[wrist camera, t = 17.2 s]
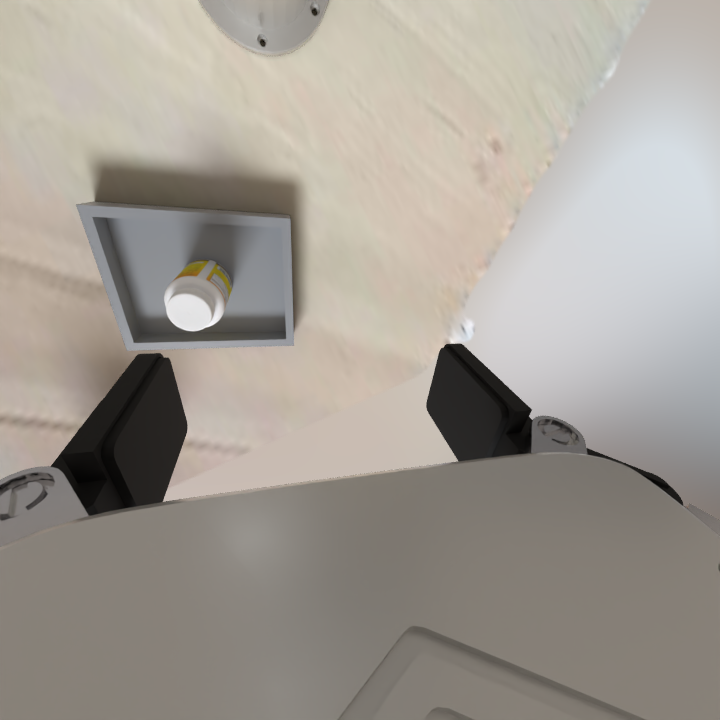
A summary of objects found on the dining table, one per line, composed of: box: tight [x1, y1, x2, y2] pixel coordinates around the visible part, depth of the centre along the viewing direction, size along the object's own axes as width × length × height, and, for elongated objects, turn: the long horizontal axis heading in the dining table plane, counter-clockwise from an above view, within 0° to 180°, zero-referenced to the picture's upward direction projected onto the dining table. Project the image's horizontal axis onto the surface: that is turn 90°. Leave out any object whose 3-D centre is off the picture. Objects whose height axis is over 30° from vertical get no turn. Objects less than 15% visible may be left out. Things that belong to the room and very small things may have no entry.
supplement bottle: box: [164, 259, 232, 331], centre depth 33 cm, size 6×6×10 cm
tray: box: [76, 202, 294, 351], centre depth 37 cm, size 16×20×4 cm
